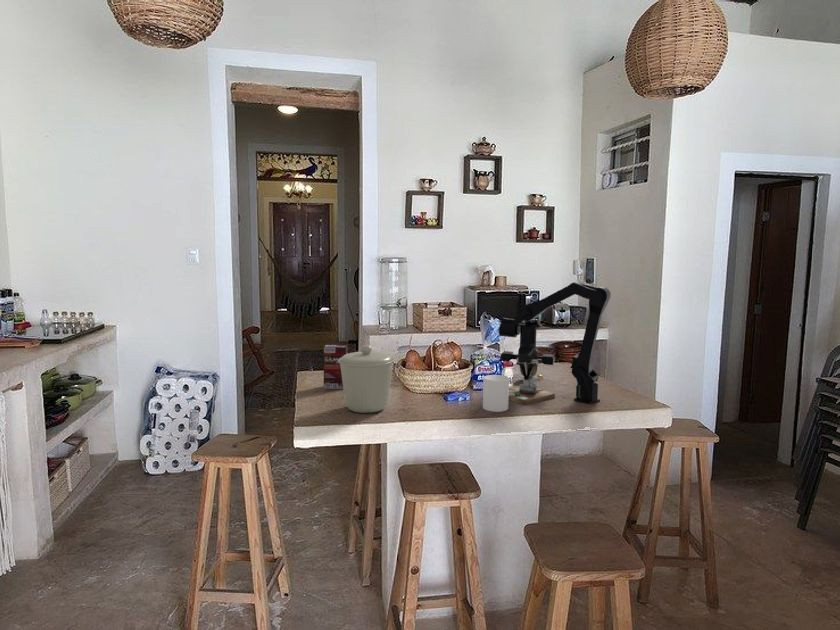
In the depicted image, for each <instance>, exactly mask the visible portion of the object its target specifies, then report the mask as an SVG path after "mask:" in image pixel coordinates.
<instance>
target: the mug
mask: <svg viewBox="0 0 840 630" xmlns="http://www.w3.org/2000/svg"><path fill="white" fill-rule="evenodd" d="M482 378H483V382H482V408H483V410H485V411H487V412H493V413H498V412H499V413H501V412H507V410H509V400H508V398H509V388H510V387H509V386H510V385H509V384H510V377H508V376H507V375H501V374H489V375H488V374H487V375H485V376H483V377H482Z"/></svg>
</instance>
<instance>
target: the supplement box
mask: <svg viewBox="0 0 840 630" xmlns="http://www.w3.org/2000/svg"><path fill="white" fill-rule="evenodd" d="M322 348H323V389H324V390H328V389H329V390H331V389H333V390H336V389H337V390H339V389H340V390H341V389H343V382H342V374H341V365H340V363H339V362H338V359H339V358H341V357H342V356H344V355H346V354H348V345H347V344H345V345H344V344H325V345H324V346H323V347H322Z"/></svg>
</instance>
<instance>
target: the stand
mask: <svg viewBox="0 0 840 630" xmlns="http://www.w3.org/2000/svg"><path fill="white" fill-rule="evenodd" d="M555 398H556V393H554V392H550V391H548V390H547V391H546V390H544V389H543V388H537V393H535V394H523V393H520V392H519V385H516V386H512V387H511V386H510V387H509V398H508V401H511V402H513V403H514V402H515V403H519V404H521V405H525V406H527V405H530V404H535V403H540V402H543V401H547V400H551V399H555Z"/></svg>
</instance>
